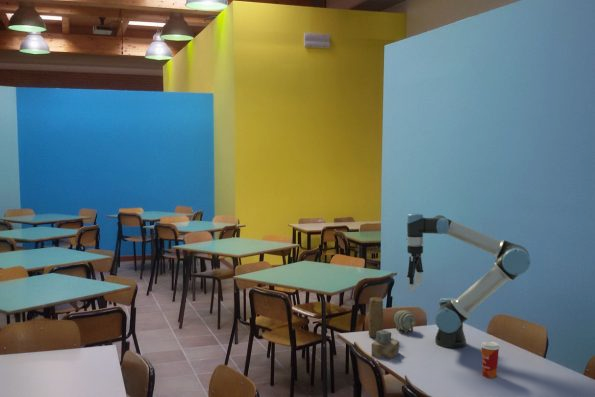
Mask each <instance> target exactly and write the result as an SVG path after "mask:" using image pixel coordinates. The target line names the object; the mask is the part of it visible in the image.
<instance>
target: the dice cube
mask: <svg viewBox="0 0 595 397" xmlns="http://www.w3.org/2000/svg"><path fill="white" fill-rule="evenodd" d="M391 340H392V332H390V331H389V330H386V329H383V330H381V331H376V338H375V341H376V342H378V343H381V344H388V343H391Z"/></svg>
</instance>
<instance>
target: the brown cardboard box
mask: <svg viewBox="0 0 595 397" xmlns="http://www.w3.org/2000/svg"><path fill="white" fill-rule="evenodd" d="M399 343H400V341H399V340H392V339H391V343H388V344H381V343H378V342H376V340H375V341H373V342H372V343H371V356H372V357H377V358H381V359H382V358H383V359H388V360H393V359H395V357H396V356H397V355H398V354H399V349H400V348H399V345H400V344H399Z"/></svg>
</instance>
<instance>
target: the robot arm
mask: <svg viewBox="0 0 595 397" xmlns="http://www.w3.org/2000/svg"><path fill="white" fill-rule="evenodd" d="M406 227H407V228H406V229H407V237H406V241H407V254H410V255H411V256H408V257H409V258H408V270H407V275H406V277H407V278H408V291H409V292H415V291H416V286H422V285H423V284H422V283H423V280H422V279H423V276H422V274H423V273H424V268H423V262H422V254H423V253H424V234H437V235H438V234H439V235H442V234H444V235H447V236H449V237H450V238H451V237H452V238H454V239H456V240H459V241H461V242H463V243H465V244H468V245H470V246H473V247H475V248H477V249H479V250H481V251H485V252H486V253H488V254H491V255H494V257H495V259H496V260H494V262H493V265H494V266H493V267H491V269H489V270H488V271H487V272H486V273H485V274H484V275H482V276H481V277H480V278H479V279H478V280H477V281H475V283H473V284H472V285H471V286H470V287H468V288H467V289H466V290H465V291H463V293H462V294H460V295H459V296H458V297H457V298H454V297H441V298H440V299H439V303H438V304H439V308H438V310H437V312H436V313H435V317H434V318H435V321H434V322H435V325H436V326H437V328H438V330H437V333H436V335H435V339H434V342H435V344H436V345H438V346H439V347H444V348H448V349H449V348H450V349H452V348H453V349H458V348H459V349H460V348H464V347H466V346H467V339H466V335H465V333H464V332H465V331H464V323H465V322H466V321H467V320H468V319H469V318H470V313H471V312H472V311H474V310H475V309H476V308H477V307H478V306H480V304H482V303H483V302H484V301H485V300H486V299H488V298H489V297H490V296H491V295H492V294H493V293H495V292H496V291H497V290H498V289H500V287H502V286H503V285H504V284H505V283H506V282H507V281H514V280H515V279H516V278H518V277H519V276H521V275H523V274H524V273H526V272H527V271H528V270H529V268H530V266H531V256H530V253H529V252H528V250H527V248H526V247H524V246H522V245H519V244H516V243H513V242H510V241H509V240H504V239H503V240H499V239H497V238H495V237H492V236H490V235H487V234H485V233H483V232H480V231H478V230H476V229H473V228H471V227H468V226H466V225H463V224H461V223H459V222H457V221H454V220H451V219H449V218H447V217H446V216H444V215H440V214H439V215H435V216H434V217H424V214H422V213H408V215H407V220H406Z"/></svg>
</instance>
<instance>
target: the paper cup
mask: <svg viewBox="0 0 595 397" xmlns="http://www.w3.org/2000/svg"><path fill="white" fill-rule="evenodd" d="M480 348H481V370H482V376H483V377H484V378H487V379H494V378H496V377H497V372H498V363H499V360H498V359H499V350H500V345H499V344H498V342H494V341H482V342H481V344H480Z"/></svg>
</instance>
